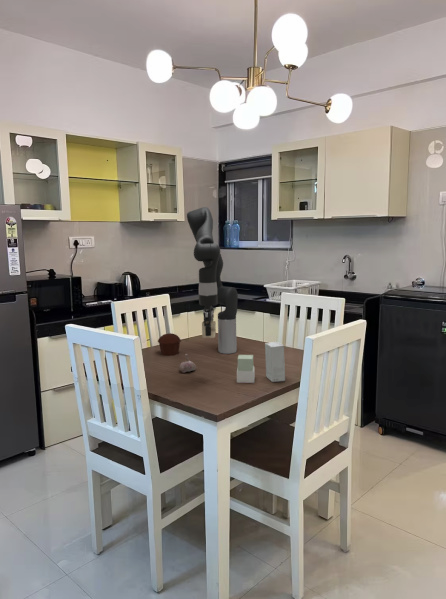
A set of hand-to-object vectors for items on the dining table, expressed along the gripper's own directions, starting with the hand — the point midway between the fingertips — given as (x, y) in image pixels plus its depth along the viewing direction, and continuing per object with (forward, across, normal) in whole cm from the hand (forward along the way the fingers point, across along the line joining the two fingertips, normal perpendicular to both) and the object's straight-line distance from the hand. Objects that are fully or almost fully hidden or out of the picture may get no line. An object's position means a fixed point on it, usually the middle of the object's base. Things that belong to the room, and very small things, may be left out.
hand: (209, 334), depth 186 cm
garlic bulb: (+19, -10, -11) cm, 24 cm away
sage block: (+14, +1, +15) cm, 21 cm away
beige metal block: (+1, 0, 0) cm, 1 cm away
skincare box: (+19, -1, +27) cm, 33 cm away
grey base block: (+19, +1, +15) cm, 24 cm away
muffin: (+19, -39, -25) cm, 50 cm away
